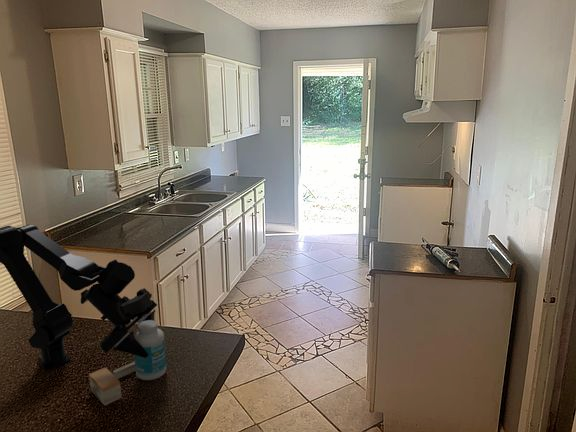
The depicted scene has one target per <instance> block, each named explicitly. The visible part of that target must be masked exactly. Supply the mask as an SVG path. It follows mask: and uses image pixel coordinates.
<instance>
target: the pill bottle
mask: <svg viewBox="0 0 576 432" xmlns="http://www.w3.org/2000/svg"><path fill="white" fill-rule="evenodd" d="M154 320H155V319H154ZM154 320H147V321H143V322H141V323H137V324H138V325H137V326H138V328H137V331H136V333H134V338H135V339H136V341H137V342H138V343H139V344H140V345H141V346H142V347H143V348H144V349H145V351H146V352H147V353H148V357H146V358H143V357H140V356H137V355H134V354H133V355H134V356H133V357H134V362H135V369H136V371H135V376H136V377H137V378H138V379H140V380H142V381H152V380H157V379H159V378H161V377H162V376H163V375H164V374H165V373H166V371H167V354H166V355H165V351H166V345H165V344H166V343H165V334H164V331H162V329H160V328H159V323H158V322H157V321H156V320H155V321H154Z"/></svg>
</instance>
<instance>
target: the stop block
mask: <svg viewBox="0 0 576 432" xmlns="http://www.w3.org/2000/svg"><path fill="white" fill-rule="evenodd" d="M88 377H89V384H90V385H89V386H90V391H91V393H93V394H94V395H95V397H96V398H97V399H98V400H99V401H100V403H102V405H104V406H107V405H109V404H111V403H113V402H116V401H118V400H120V399H122V398H123V396H122V390H121V388H122V387H121V380H119V379H117V378H116V377H115V376H114V375H113V372H111V371H110V370H109V369H108V368H107V367H106V366H105V367H103V368H99V369H98V370H95V371H93V372H90V373H88Z"/></svg>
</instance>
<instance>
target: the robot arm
mask: <svg viewBox="0 0 576 432" xmlns="http://www.w3.org/2000/svg"><path fill="white" fill-rule="evenodd" d="M25 248H26V249H28V250H29V251H31V253H33V254H35V255H36V256H37V257H38V258H40V259H42V260H43V261H44V262H46V263H47V264H48V265H50V266H51V267H52V268H54V269H55V270H56V271H57V272H58V275H59V278H60V280H61V281H62V282H63V283H64V284H65V285H66V286H67V287H68V288H69V289H70V290H73V291H75V292H76V291H81V290H83V289H84V290H83V291H82V292H80V304H81V305H83V304H85V303H86V302H89V303H90V304H91V305H92V306H93V307H94V308H95V309H96V310H97V311H98V312H99V313H100V314H102V316H101V317H100V319H101V320H102V321H103V322H104V321H105V320H106V319H107V321H109V322H110V324H111V325H112V326H113V327H114V328H113V329H112V330H111V332H109V334H107V336H105V338H103V340H101V342H100V343H99V344H100V345H99V346H100V349H101V350H102V351H103V352H104V353H105V354H107V353H108V352H110V351H111V350H112V351H113V352H115V351H118V352H122V353H127V354H131V355H137V356H140V357H143V358H146V357H148V353H147V352H146V351H145V349H144V348H143V347H142V346H141V345H140V344H139V343H138V342H137V341H136V339H135V338H134V335H135V333H134V330H132V331H131V332H129V330H130V329H131V328H133V326H135V324H139V323H141V322H143V321H147V320H154V321H156V320H155V313H156V309H155V308H156V307H157V306H158V304H157V303H156V301H154V300H153V299H152V296H153V294H152V293H150V291H148V289H147V288H145V287H144V288H141V289H139V290H137V291H136V296H134V297H133V298H131V299H130V298H129V297H127V296H125V295H124V296H123V297H121V296H120V295H119V294H121V293H122V292H123V291H124V290H125V289H126V288H127V286H129V285H130V284H131V282H132V281H133V280H135V277H136V273H135V270H134V269H133V268H132V267H131V265H128V264H126V263H124V262H120V261H118V260H117V259H116V258H114V259H113V260H110V261H109V262H108V263H107V264H106V266H103V265H99V264H98V263H95V262H94V261H92V260H91V259H89V258H86V257H85V256H79V255H76V254H75V255H74V254H73V253H71V252H69V251H68V250H67V249H66V248H64V247H63V246H61V245H60V244H58V243H57V242H55V241H54V240H53V239H52V238H50V237H48V236H47V235H45V233H43V232H42V231H40V230H39V228H38V226H37V225H34V224H26V225H24V226H18V227H15V226H12V225H5V226H2V227H0V264H2V265H3V266H4V268H5V269H6V270H7V272H8V274H9V275H10V277H11V278H12V281H13V282H14V283H15V285H16V287H17V288H18V290H19V291H20V293H21V294H22V296H23V298H24V300H25V301H26V303H27V304H28V306H29V308H30V309H31V310H32V327H33V328H34V330H35V332H34V333H33V334H32V335H31V336H30V337H29V339H28V343H29V346H30V347H31V348H34V349H39V352H40V358H38V359H37V362H38V363H39V365H40V366H41V368H43V370H44V371H47V370H50V369H53V368H56V367H58V366H61V365H62V364H63V365H64V364H66V363H68V362H70V361H72V358H71V357H70V356H69V355H68V354H67V353H66V347H65V341H64V338H65V337H66V336H68V335H70V334H71V329H72V327H73V324H74V321H73V317H72V316H73V314H72V313H70V311H69V309H68V307H67V305H66V304H65V303H64V302H62V303H61V304H58V303H57V302H54V301H53V299H51V297H50V295H49V293H48V292H47V290H46V288H45V287H44V286H43V284H42V282H41V281H40V279H39V277H38V276H37V274H36V272H35V271H34V269H33V267H32V266H31V264H30V263H29V260H28V259H27V258H26V256H25ZM90 286H91V287H90ZM88 287H89V289H85V288H88ZM136 328H137V329H138V325H137V326H136Z"/></svg>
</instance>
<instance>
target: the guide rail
mask: <svg viewBox="0 0 576 432" xmlns="http://www.w3.org/2000/svg"><path fill="white" fill-rule="evenodd" d="M166 353H167V352H166V350H165V355H166V356H167V354H166ZM134 372H135V373H136V369H135V361H132V362H131V363H128V364H126V365H123V366H121V367H119V368H116V369H114V370H112V374H113V375H114V376H115V377H116V378H117V379H118V380H119V379H120V378H123V377H125V376H128V375H130V374H132V373H134Z"/></svg>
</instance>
